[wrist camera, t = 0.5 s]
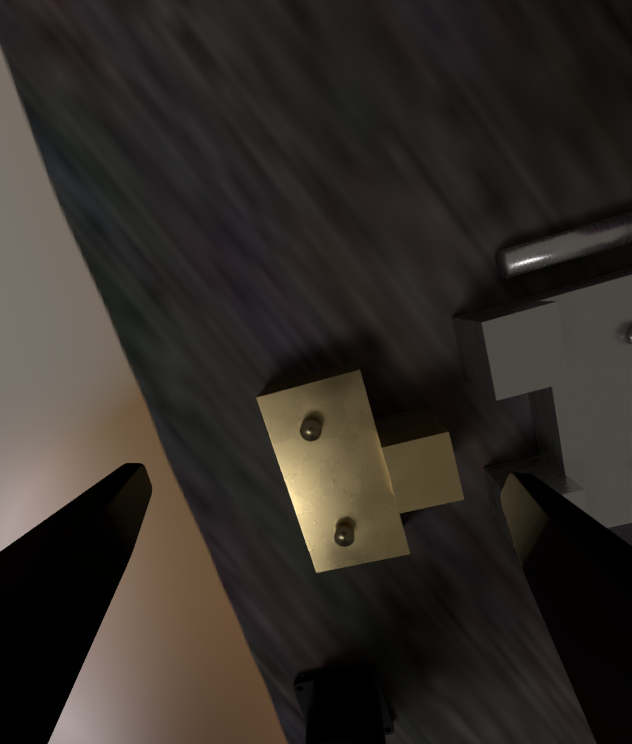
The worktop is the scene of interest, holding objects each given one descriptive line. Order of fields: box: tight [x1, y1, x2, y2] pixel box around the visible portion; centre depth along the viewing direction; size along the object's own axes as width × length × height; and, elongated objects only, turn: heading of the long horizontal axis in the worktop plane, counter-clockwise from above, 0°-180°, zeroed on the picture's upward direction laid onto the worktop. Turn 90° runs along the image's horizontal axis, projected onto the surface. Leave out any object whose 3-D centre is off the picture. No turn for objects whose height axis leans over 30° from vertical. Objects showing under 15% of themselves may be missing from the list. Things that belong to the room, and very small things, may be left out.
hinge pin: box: [495, 211, 632, 279], centre depth 18 cm, size 8×2×2 cm, turn 106°
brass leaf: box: [257, 361, 464, 573], centre depth 20 cm, size 12×10×4 cm
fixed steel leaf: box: [452, 267, 632, 548], centre depth 19 cm, size 14×10×4 cm
